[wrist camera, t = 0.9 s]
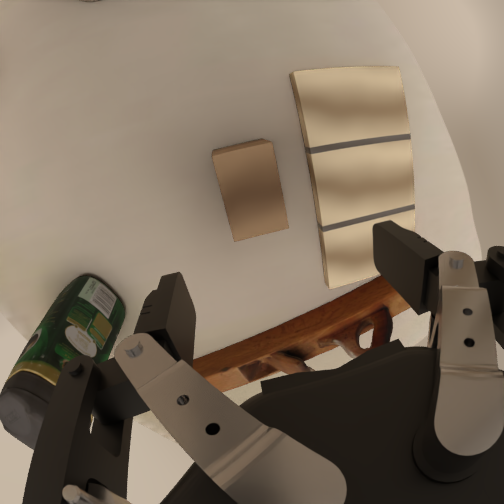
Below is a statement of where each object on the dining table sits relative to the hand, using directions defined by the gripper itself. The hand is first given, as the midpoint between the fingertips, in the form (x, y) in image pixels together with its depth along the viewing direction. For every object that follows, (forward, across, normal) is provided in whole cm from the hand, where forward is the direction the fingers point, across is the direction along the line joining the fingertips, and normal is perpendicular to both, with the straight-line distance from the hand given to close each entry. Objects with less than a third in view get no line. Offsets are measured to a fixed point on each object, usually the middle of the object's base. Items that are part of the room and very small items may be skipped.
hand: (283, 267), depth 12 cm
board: (+16, -12, +2) cm, 20 cm away
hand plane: (+17, 0, +19) cm, 25 cm away
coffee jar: (+17, +21, +9) cm, 28 cm away
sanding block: (+16, 0, 0) cm, 17 cm away
